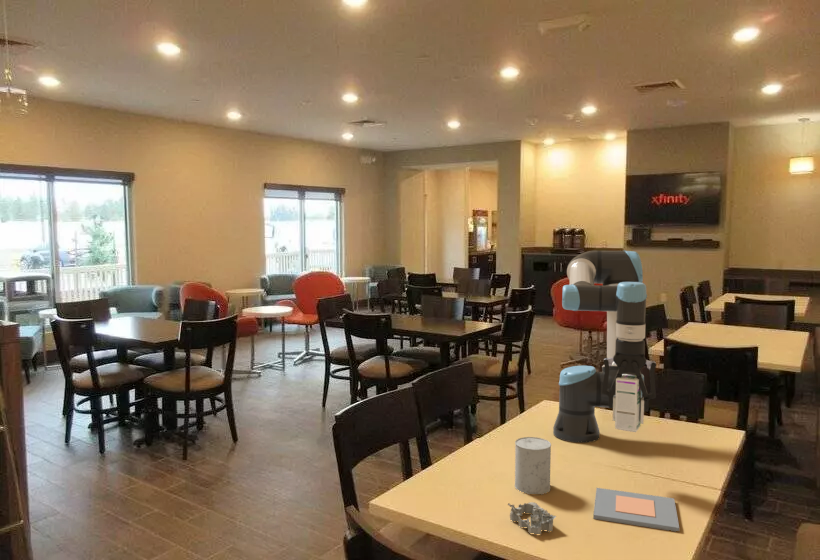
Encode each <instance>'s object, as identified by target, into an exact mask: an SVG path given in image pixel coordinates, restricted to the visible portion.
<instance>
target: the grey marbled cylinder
mask: <svg viewBox="0 0 820 560" xmlns="http://www.w3.org/2000/svg"><path fill="white" fill-rule="evenodd" d="M514 445H515V447H514V448H515V451H514V452H515V458H514V459H515V460H514V461H515V462H514V463H515V464H514V470H515V471H514V489H515V490H517V489H518V490H519V491H518V490H517V491H518V492H520V491H521V493H522V492H524V493H523V494H525V493H527V494H526V495H530V494H541V495H545V494H547V492H548V493H549V492H550V491H551V455H552V453H551V451H552V450H551V447H552V443H551V442H550V441H549V440H548V439H545V438H541V437H534V436H527V437H520V438H518V439H516V440H515V443H514ZM544 493H545V494H544Z"/></svg>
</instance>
